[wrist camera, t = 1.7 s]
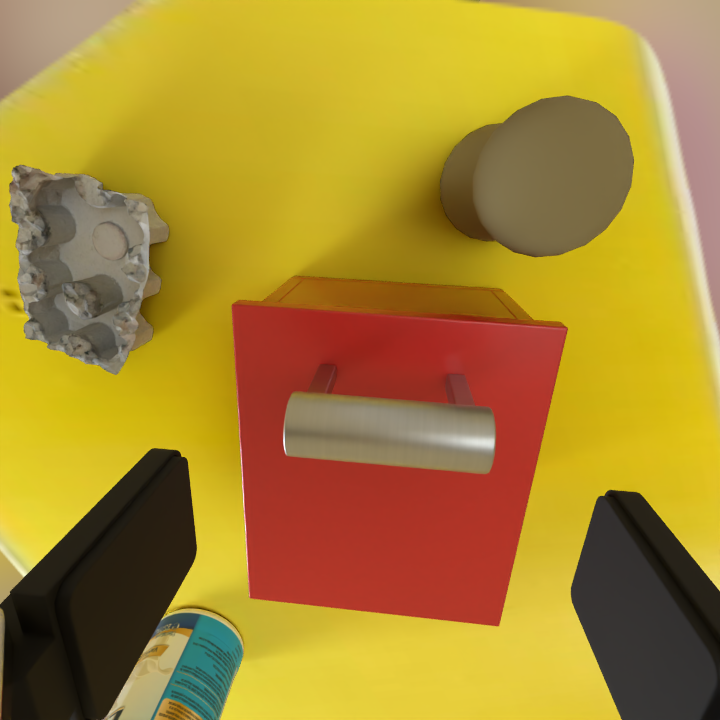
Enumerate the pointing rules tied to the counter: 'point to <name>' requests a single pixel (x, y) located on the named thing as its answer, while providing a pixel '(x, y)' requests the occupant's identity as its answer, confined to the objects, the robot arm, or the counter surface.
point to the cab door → (388, 454)
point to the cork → (540, 177)
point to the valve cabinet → (398, 297)
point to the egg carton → (84, 264)
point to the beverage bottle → (183, 670)
